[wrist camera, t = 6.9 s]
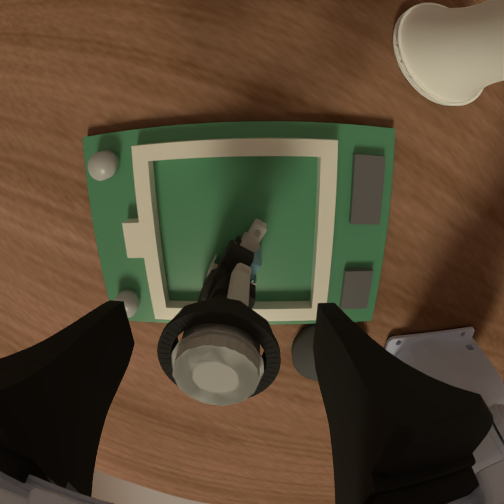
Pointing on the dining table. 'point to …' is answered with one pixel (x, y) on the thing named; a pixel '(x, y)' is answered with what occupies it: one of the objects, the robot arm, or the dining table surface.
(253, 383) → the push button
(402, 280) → the dining table surface
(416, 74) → the cooling tower
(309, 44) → the dining table surface
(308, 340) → the dark gray round disc
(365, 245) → the circuit board
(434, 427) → the robot arm
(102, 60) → the dining table surface
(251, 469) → the dining table surface
